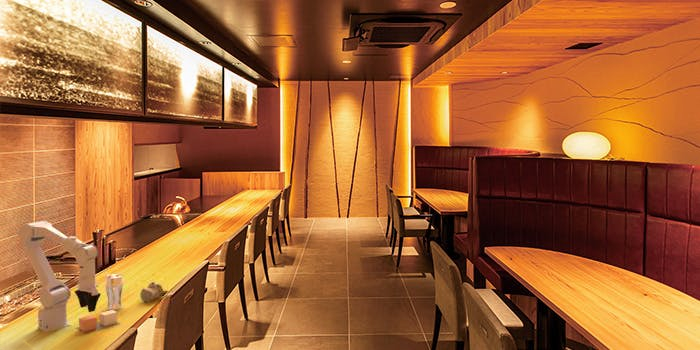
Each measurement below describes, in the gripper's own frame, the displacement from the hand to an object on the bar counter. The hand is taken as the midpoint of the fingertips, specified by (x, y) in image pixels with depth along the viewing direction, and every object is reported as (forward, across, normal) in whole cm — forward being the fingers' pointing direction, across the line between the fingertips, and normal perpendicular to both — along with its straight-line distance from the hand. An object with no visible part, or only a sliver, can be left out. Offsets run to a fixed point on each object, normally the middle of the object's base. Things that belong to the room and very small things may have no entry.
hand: (87, 309), depth 186 cm
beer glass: (+9, +17, -18) cm, 26 cm away
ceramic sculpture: (+9, +16, -36) cm, 41 cm away
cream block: (+8, 0, -8) cm, 11 cm away
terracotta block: (+8, 0, 0) cm, 8 cm away
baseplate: (+8, 0, -4) cm, 9 cm away
